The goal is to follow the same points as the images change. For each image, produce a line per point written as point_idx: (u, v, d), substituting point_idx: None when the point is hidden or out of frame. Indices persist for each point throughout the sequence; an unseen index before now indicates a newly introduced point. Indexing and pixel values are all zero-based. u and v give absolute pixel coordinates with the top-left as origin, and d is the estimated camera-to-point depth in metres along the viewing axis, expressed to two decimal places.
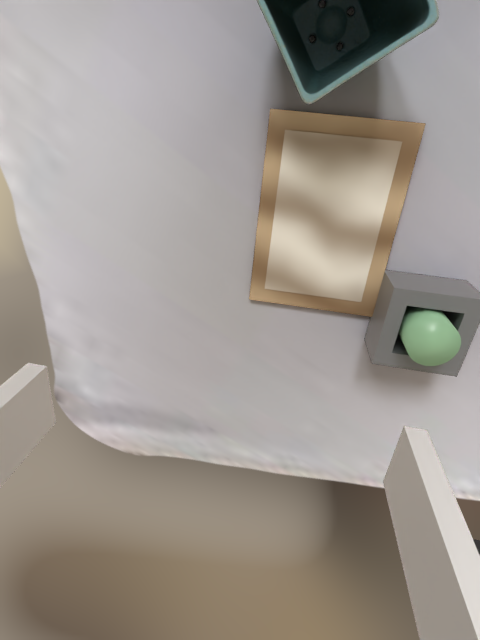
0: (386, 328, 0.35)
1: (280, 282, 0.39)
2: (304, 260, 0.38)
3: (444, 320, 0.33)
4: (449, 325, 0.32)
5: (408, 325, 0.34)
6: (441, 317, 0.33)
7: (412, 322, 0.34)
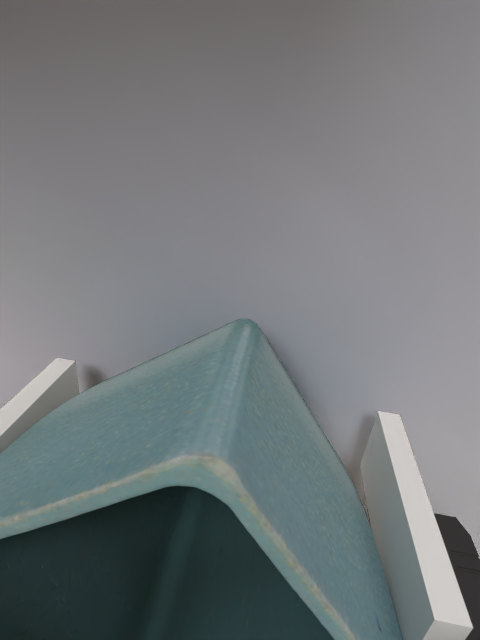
0: None
1: None
2: None
3: None
4: None
5: None
6: None
7: None
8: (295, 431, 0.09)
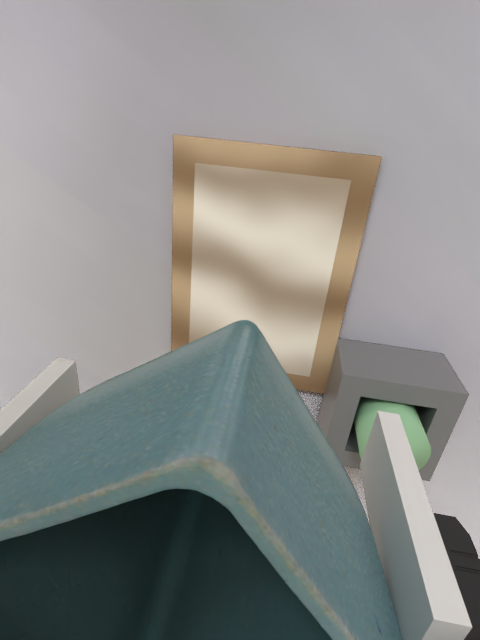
0: (335, 421, 0.27)
1: None
2: None
3: (408, 421, 0.24)
4: (414, 430, 0.24)
5: (363, 422, 0.26)
6: (405, 415, 0.25)
7: (367, 419, 0.25)
8: (295, 433, 0.09)
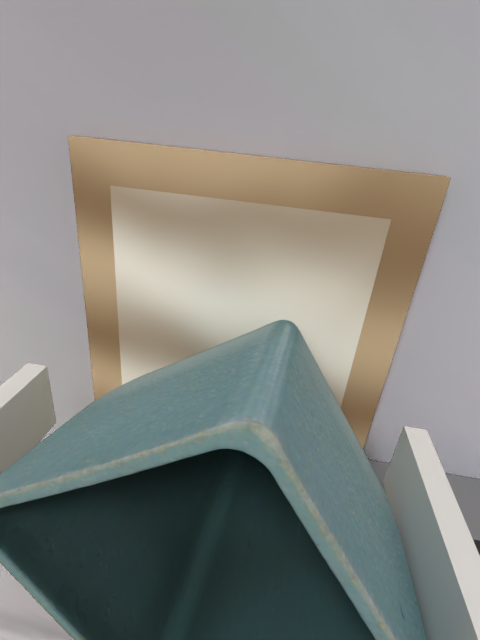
0: None
1: None
2: None
3: None
4: None
5: None
6: None
7: None
8: (329, 423, 0.09)
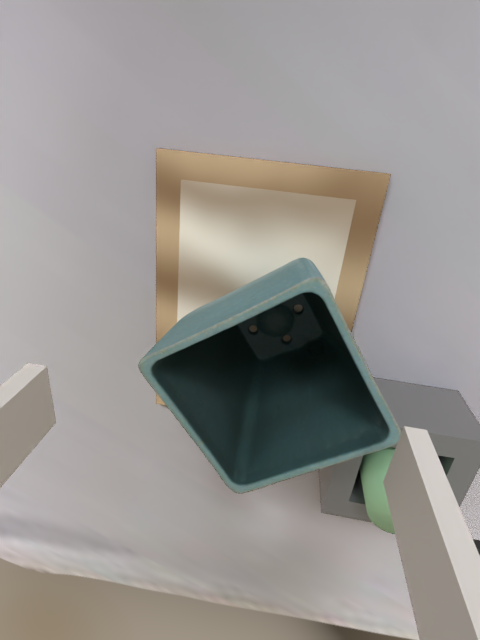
0: (338, 470, 0.24)
1: None
2: None
3: None
4: None
5: (370, 472, 0.23)
6: None
7: (375, 469, 0.22)
8: None
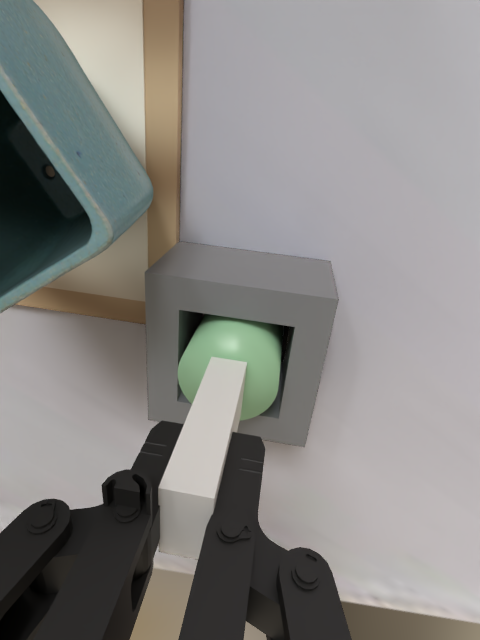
0: (153, 354, 0.18)
1: None
2: None
3: (244, 331, 0.16)
4: (248, 342, 0.15)
5: None
6: (244, 325, 0.16)
7: (194, 334, 0.17)
8: (38, 41, 0.11)
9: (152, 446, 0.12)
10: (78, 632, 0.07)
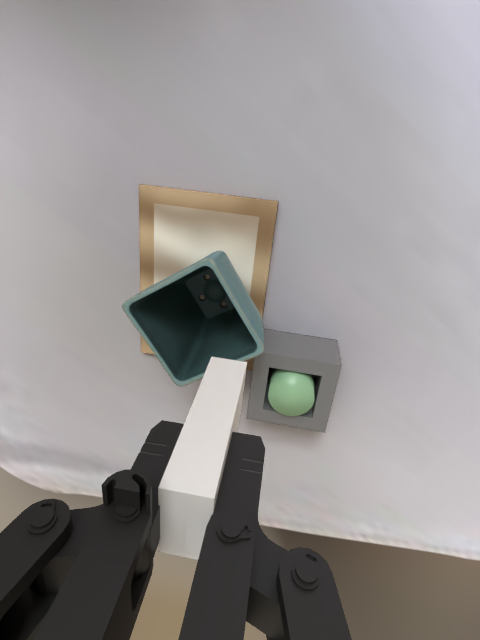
0: (253, 386, 0.37)
1: None
2: None
3: (299, 375, 0.36)
4: (301, 380, 0.35)
5: (272, 378, 0.37)
6: (298, 372, 0.36)
7: (275, 375, 0.37)
8: (233, 276, 0.31)
9: (152, 446, 0.12)
10: (78, 632, 0.07)
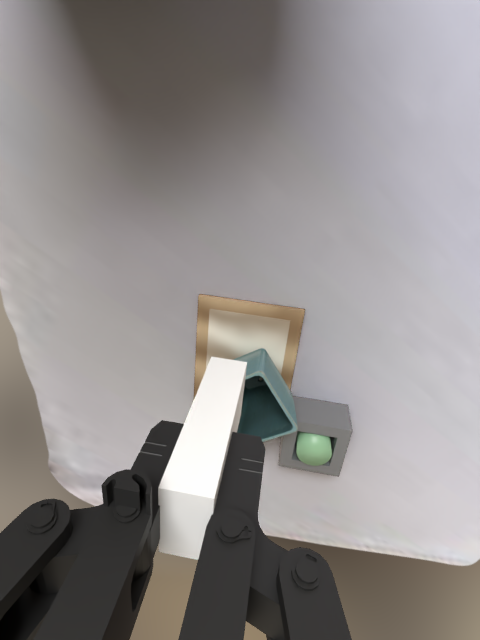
0: (285, 443, 0.49)
1: None
2: None
3: (320, 437, 0.48)
4: (322, 441, 0.47)
5: (299, 437, 0.49)
6: None
7: (301, 435, 0.49)
8: (274, 373, 0.43)
9: (152, 446, 0.12)
10: (78, 632, 0.07)
